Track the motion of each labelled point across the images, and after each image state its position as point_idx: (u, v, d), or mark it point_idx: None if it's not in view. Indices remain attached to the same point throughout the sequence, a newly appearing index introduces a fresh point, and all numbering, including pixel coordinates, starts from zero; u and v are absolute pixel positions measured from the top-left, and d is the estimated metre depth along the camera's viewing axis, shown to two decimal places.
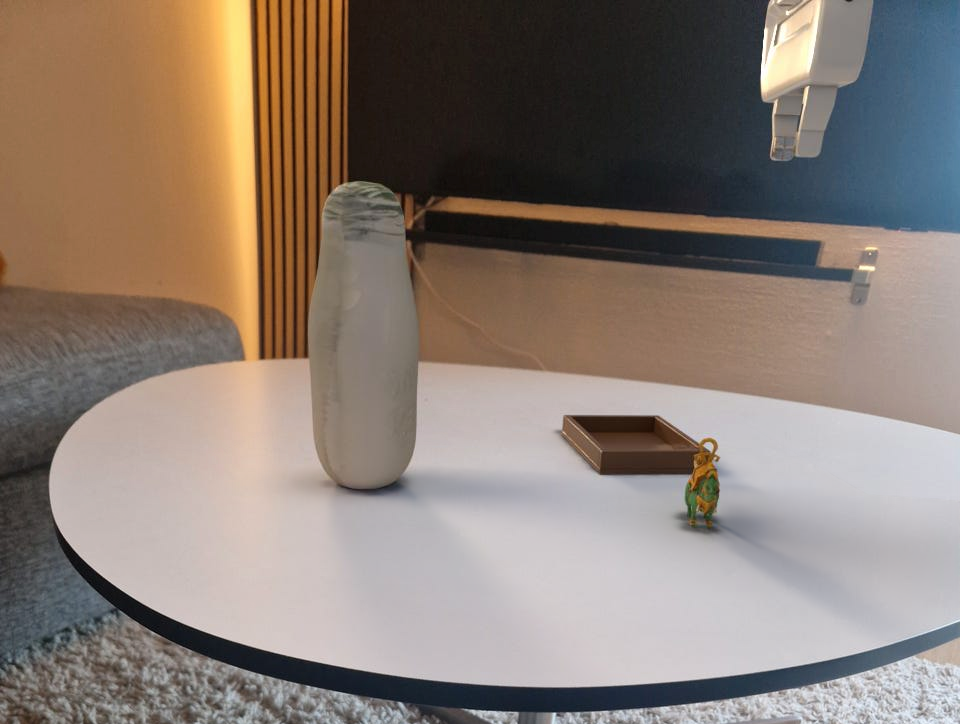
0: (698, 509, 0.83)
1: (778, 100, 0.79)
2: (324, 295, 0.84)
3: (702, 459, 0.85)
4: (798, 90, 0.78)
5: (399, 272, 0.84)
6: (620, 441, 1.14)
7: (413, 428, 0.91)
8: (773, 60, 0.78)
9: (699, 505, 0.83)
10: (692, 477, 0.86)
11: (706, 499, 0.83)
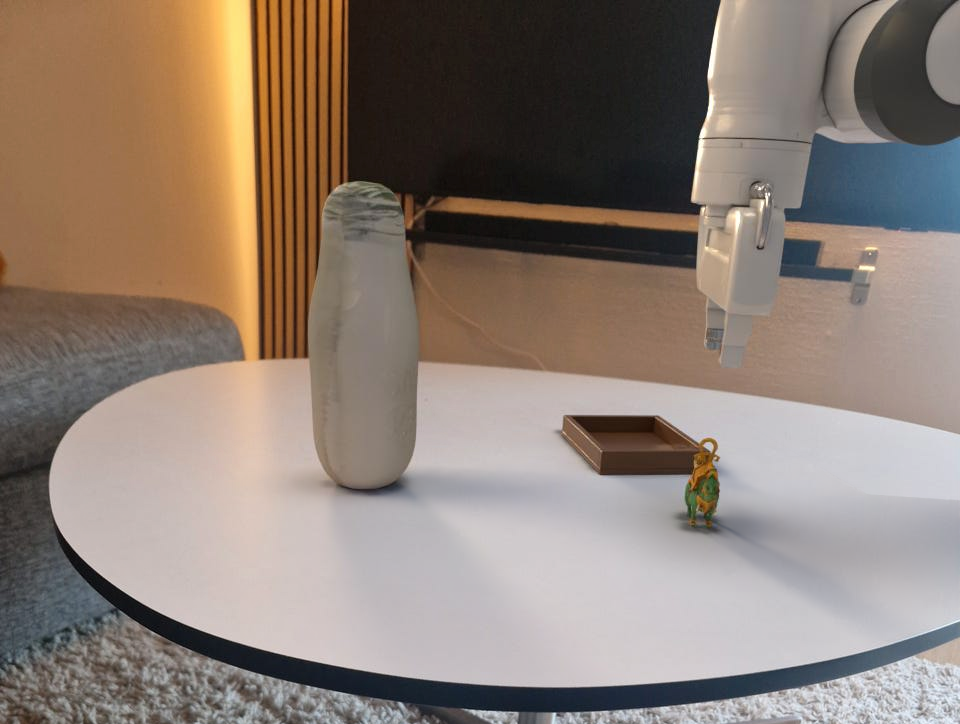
0: (698, 509, 0.83)
1: None
2: (324, 295, 0.84)
3: (702, 459, 0.85)
4: None
5: (399, 272, 0.84)
6: (620, 441, 1.14)
7: (413, 428, 0.91)
8: (705, 260, 0.83)
9: (699, 505, 0.83)
10: (692, 477, 0.86)
11: (706, 499, 0.83)
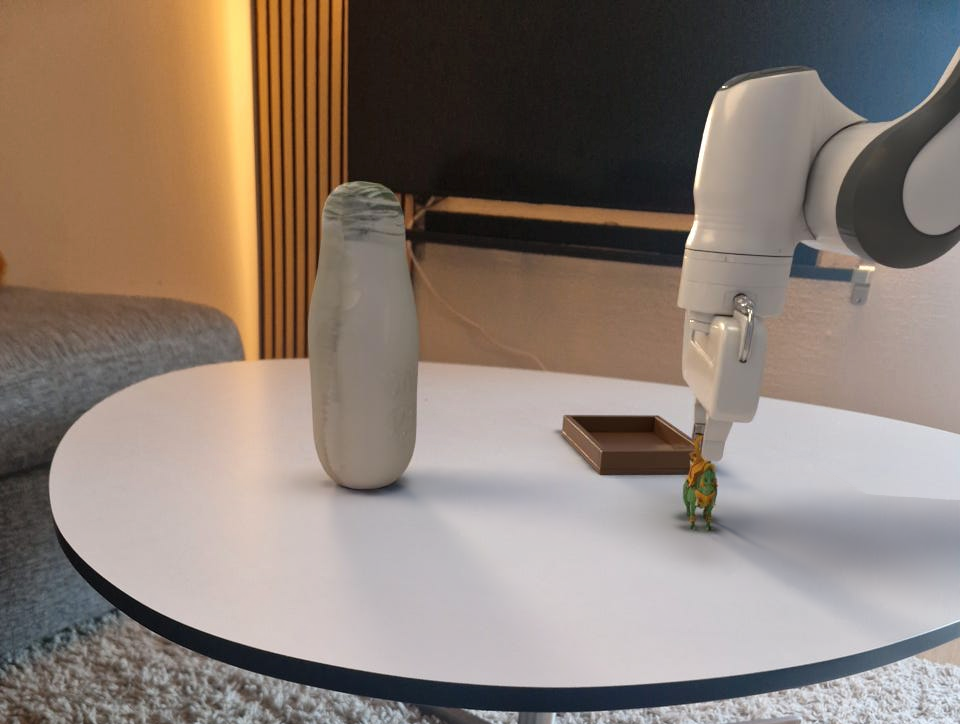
0: (697, 503, 0.83)
1: None
2: (324, 295, 0.84)
3: (698, 456, 0.86)
4: None
5: (399, 272, 0.84)
6: (620, 441, 1.14)
7: (413, 428, 0.91)
8: (690, 355, 0.86)
9: (698, 499, 0.83)
10: (689, 475, 0.86)
11: (704, 492, 0.83)
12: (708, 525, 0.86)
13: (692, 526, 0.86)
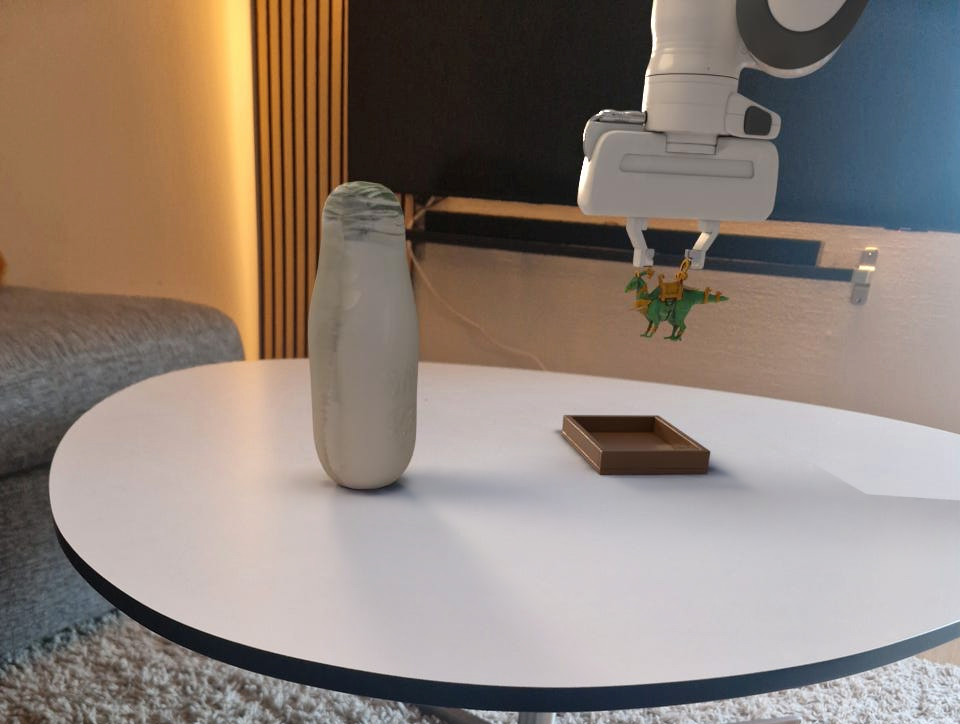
0: (632, 307, 0.97)
1: (699, 220, 0.95)
2: (324, 295, 0.84)
3: (677, 277, 0.97)
4: None
5: (399, 272, 0.84)
6: (620, 441, 1.14)
7: (413, 428, 0.91)
8: None
9: None
10: None
11: (636, 298, 0.96)
12: (650, 334, 0.97)
13: None
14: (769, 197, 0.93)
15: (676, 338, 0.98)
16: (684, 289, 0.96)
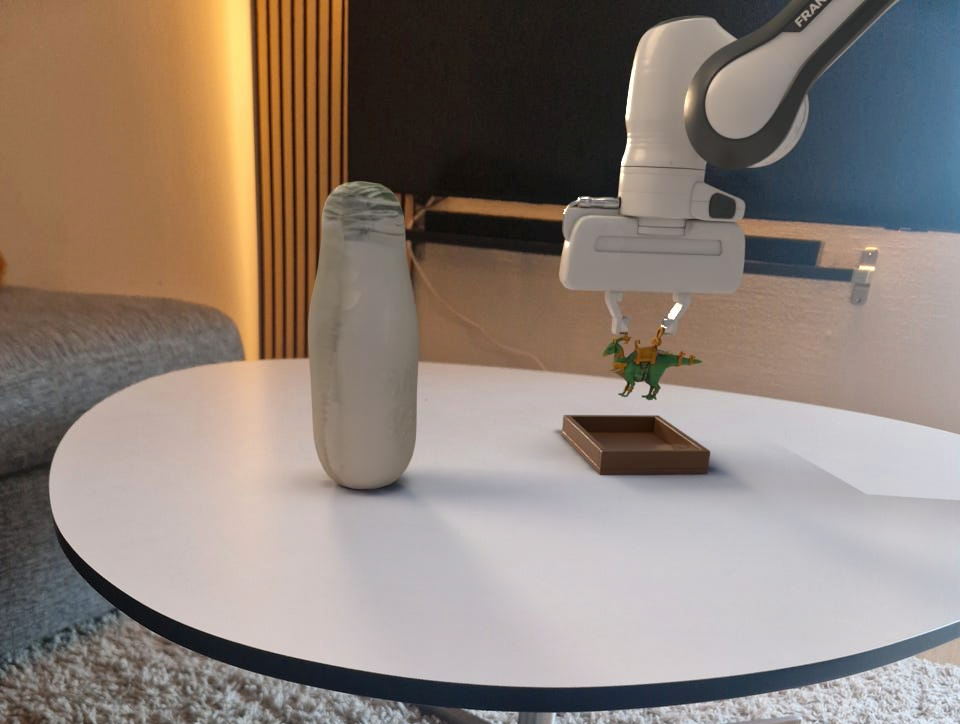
0: (611, 369, 1.07)
1: None
2: (324, 295, 0.84)
3: (652, 342, 1.06)
4: None
5: (399, 272, 0.84)
6: (620, 441, 1.14)
7: (413, 428, 0.91)
8: None
9: None
10: None
11: (614, 361, 1.06)
12: (626, 394, 1.07)
13: (621, 393, 1.08)
14: (737, 272, 1.02)
15: (651, 397, 1.07)
16: (658, 353, 1.05)
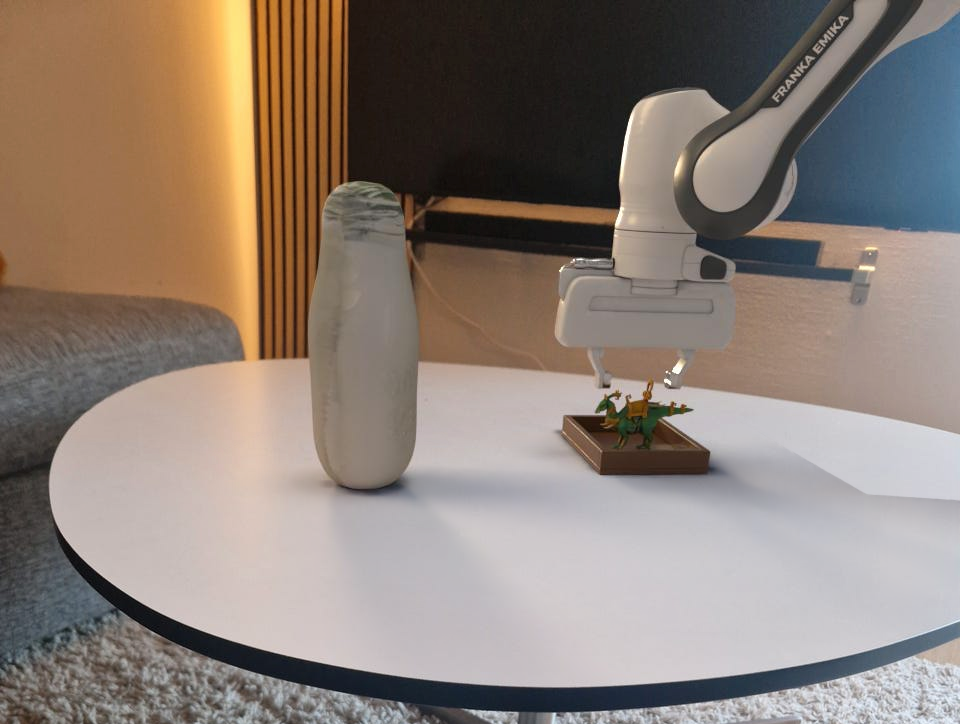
0: (604, 424, 1.09)
1: None
2: (324, 295, 0.84)
3: (643, 395, 1.08)
4: None
5: (399, 272, 0.84)
6: None
7: (413, 428, 0.91)
8: None
9: None
10: None
11: (606, 416, 1.08)
12: None
13: (616, 445, 1.11)
14: (728, 329, 1.04)
15: (645, 448, 1.10)
16: (650, 406, 1.08)
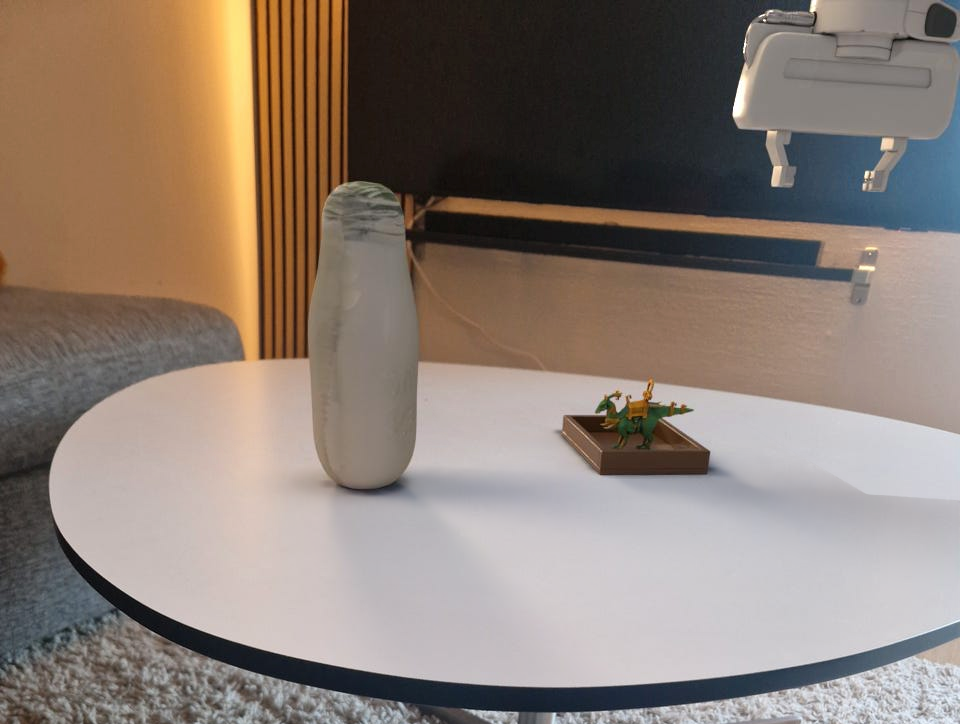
0: (604, 424, 1.09)
1: (883, 138, 0.88)
2: (324, 295, 0.84)
3: (644, 395, 1.08)
4: None
5: (399, 272, 0.84)
6: None
7: (413, 428, 0.91)
8: None
9: None
10: None
11: (606, 416, 1.08)
12: None
13: (616, 445, 1.11)
14: (946, 110, 0.85)
15: (645, 449, 1.10)
16: (650, 407, 1.08)
